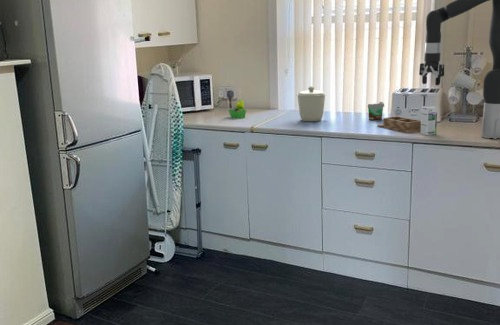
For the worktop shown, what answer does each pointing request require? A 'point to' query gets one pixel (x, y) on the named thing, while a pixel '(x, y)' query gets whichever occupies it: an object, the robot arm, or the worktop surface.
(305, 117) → the canister
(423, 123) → the syrup box
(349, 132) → the worktop surface
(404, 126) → the walnut socket rail
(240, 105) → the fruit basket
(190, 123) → the worktop surface
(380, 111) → the food container
